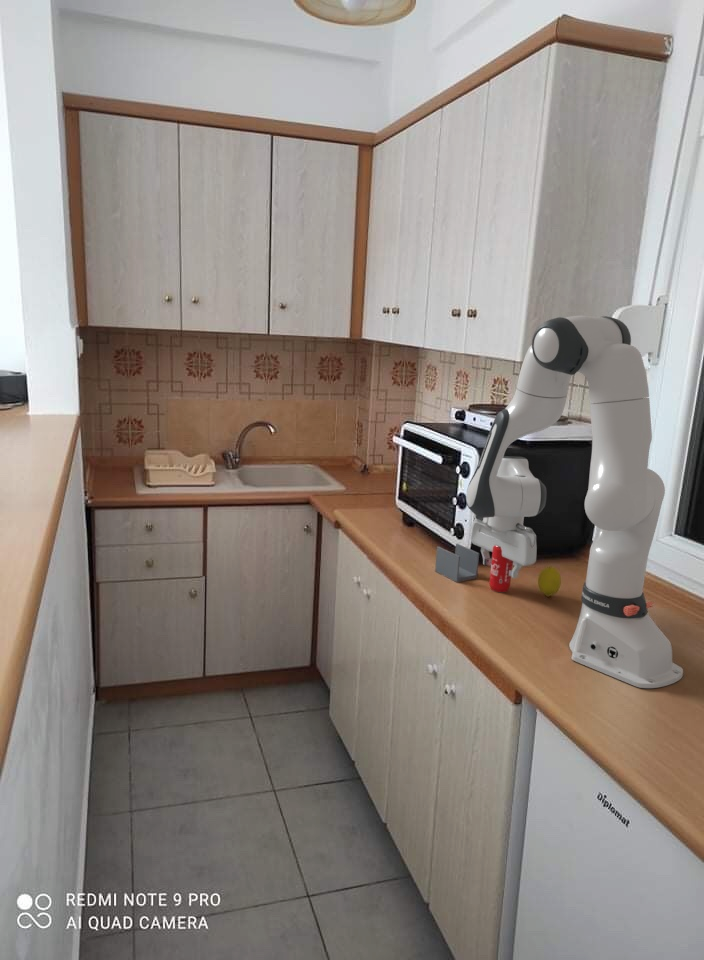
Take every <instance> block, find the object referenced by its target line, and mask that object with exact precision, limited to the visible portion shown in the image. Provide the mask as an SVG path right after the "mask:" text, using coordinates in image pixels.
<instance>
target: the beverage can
mask: <svg viewBox="0 0 704 960" xmlns="http://www.w3.org/2000/svg"><path fill="white" fill-rule="evenodd" d="M491 553H492V554H491V559H492V562H491V566H490V572H489V573H490V574H489V583H488V585H489V587H490V590H492V591H493V592H497V593H507V592H508V591H509V590H510V588H511V582H512V581H511V579H512V577H510V576H509V570H512V569H513V561H512V560H509V559H507V558H505V557H503V556H502V550H501V547H500V546H497V545H495V546H494V547H493V552H491ZM506 591H507V592H506Z"/></svg>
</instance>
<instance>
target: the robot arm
mask: <svg viewBox="0 0 704 960" xmlns="http://www.w3.org/2000/svg"><path fill="white" fill-rule="evenodd" d="M630 332H631V331H630V330H629V328H628V326H627V325H626V324H625V323H624V322H623V321H621V320H619V319H617V318H615V317H611V316H605V315H604V316H593V315H590V316H589V315H571V316H566V317H560V316H558V317H555V318H551V319H547V320H546V321H544V322H542V323H540V324H539V325H538V326H537V328H536V329H535V331H534V333H533V336H532V340H531V345H530V346H529V347H528V349H527V351H526V353H525V355H524V358H523V362H522V365H521V368H520V371H519V375H518V379H517V382H516V383H517V384H516V389H515V393H514V394H513V397H512V399H511V400H510V402H509V403H508V405H507V406H506V407H505V408H504V409H501V410H500V411H499V412H498V413H497V414H496V415H495V418H494V420H493V421H492V425H491V427H490V429H489V431H488V435H487V438H486V440H485V443H484V446H483V449H482V452H481V455H480V457H479V461H478V464H477V465H476V469H475V471H474V472H473V475H472V477H471V479H470V481H469V483H468V486H467V489H466V495H465V501H466V506H467V508H468V509H469V510H470V511H471V512H472V513H473V514H472V515H473V520H472V524H471V528H470V529H471V530H470V540H471V543H472V544H473V545H475V546H477V547H479V548H480V553H481V556H482V564H483V565H484V566H486V567H491V562H492V557H491V556H490V552H491V553H492V552H493V547H494V546H495V545H497V546H500V547H501V550H502V556H503V557H505V558H507V559H509V560H512V561H513V562H512V566H514V567H512V570H509V576H510V577H511V579H517V578H518V577H519V571H520V570H521V569H522V567H526V566H532V565H534V564H535V563H536V562H537V549H538V548H537V547H538V546H537V535H536V533H535V532H534V530H533V528H531V527H529V526H525V525H524V519H525V517H526V518H527V517H528V518H530V517H536V516H537V515H539V514H540V513H541V512H542V511H543V509H544V508H545V507H546V503H547V487H546V485H545V484H544V483H543V482H542V480H541V479H539V478H537V477H535V476H534V475H533V473H532V471H531V470H530V468H529V461H528V459H527V458H526V457H523V456H512V455H511V456H507V455H505V453H506V450H507V449H508V447H509V446H511V444H513V442H515V441H517V440H519V439H522V438H523V437H525V436H528V435H531V434H534V433H538V432H541V431H544V430H546V429H548V428H550V427H552V426H553V425H554V424H556V423H557V422H558V421H559V419H561V416H562V415H563V414H564V413H563V412H564V409H565V406H566V403H567V399H568V398H567V396H568V392H569V387H570V382H571V378H572V376H574V375H575V374H577V373H578V372H579V373H580V374H581V375H582V376H584V378H585V379H586V381H587V385H588V394H589V396H588V397H589V403H590V404H589V410H590V411H589V412H590V423H591V424H590V425H591V426H590V427H591V435H592V436H591V438H592V439H591V440H592V442H591V456H590V457H591V458H590V466H589V476H588V477H589V478H588V487H587V489H588V490H587V492H586V496H585V499H584V510H585V514H586V516H587V519H589V521H590V523H592V524H593V525H594V526H596V527H597V531H596V533H595V536H594V538H593V541H592V543H591V546H590V548H589V556H588V562H587V569H586V570H587V571H586V578H585V582H584V583H583V584H582V591H581V599H580V600H581V603H582V604H581V609H580V613H579V618H578V621H577V625H576V628H575V631H574V633H573V635H572V638H571V640H570V642H569V644H568V645H569V649H570V651H571V653H572V654H571V660H572V661H574V662H576V663H578V664H581V665H583V666H586V667H587V668H591V670H592V669H593V670H595V671H598V672H600V673H601V674H605V675H607V676H610V677H612V678H614V679H616V680H619V681H622V682H623V683H627V684H629V685H631V686H634V687H637V688H640V689H657V688H663V687H666V686H669V685H672V684H675V683H676V682H679V681H680V680H681V679H682V678H683V676H684V669H683V668H682V667H681V666H679V665H678V664H676V663H674V661H673V647H672V643H671V642H670V640H669V638H667V636H666V635H665V633H663V631H662V630H661V629H660V628H659V627H658V625H657V623H656V622H655V621H654V620H653V619H652V618H651V617H650V615H649V614H648V613H649V611H648V609H650V608H652V607H654V605H653V604H654V601H649V602H648V601H647V602H646V596H645V594H644V591H643V589H644V584H645V583H644V582H645V577H646V571H647V563H648V560H649V553H650V550H651V546H652V543H653V540H654V536H655V532H656V529H657V525H658V521H659V517H660V513H661V509H662V505H663V501H664V497H665V491H666V489H665V488H666V487H665V483H664V481H663V479H662V478H661V476H660V475H659V474H658V473H657V472H655V470H652V469H650V468H648V467H649V459H650V457H649V456H650V448H651V443H652V439H653V432H652V418H651V417H652V416H651V405H650V403H651V402H650V391H649V390H650V389H649V382H648V376H647V372H646V368H645V364H644V360H643V356H642V354H641V352H640V351H639V349H638V348H637V347H635V346H633V345H631V343H632V338H631V337H632V336H631V333H630Z"/></svg>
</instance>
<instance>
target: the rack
mask: <svg viewBox="0 0 704 960" xmlns="http://www.w3.org/2000/svg"><path fill="white" fill-rule="evenodd" d="M479 558H480V552H477V551H475V550H473V549H471V548H468V547H466V546H464V545H461V544H459V543H456V544H455V550H454V553H453V552H451V551H449V550H447V549H444V548H443V547H441V546H436V555H435V569H434V572H436V573H438V574H439V575H442V576H444V577H446V578H448V579H450V580H452V581H454V582H455V583H458V582H464V581H470V580H475V578H476V579H478V569H479V560H480V559H479Z"/></svg>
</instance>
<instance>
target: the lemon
mask: <svg viewBox="0 0 704 960" xmlns="http://www.w3.org/2000/svg"><path fill="white" fill-rule="evenodd" d="M561 579H562V578H561V574H560V572H559V570H557V568H555V567H553V566H552V565H550V566H548V567H547V566H546V567H545V568H543V569H542V570H541V571H540V572H539V575H538V578H537V586H538V589H539V591H540V592H541V593H543V594H544V595H545V596H546V597H550V596H552V595H555V594H557V593H558V592H559V590H560V588H561V583H562V580H561Z"/></svg>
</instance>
